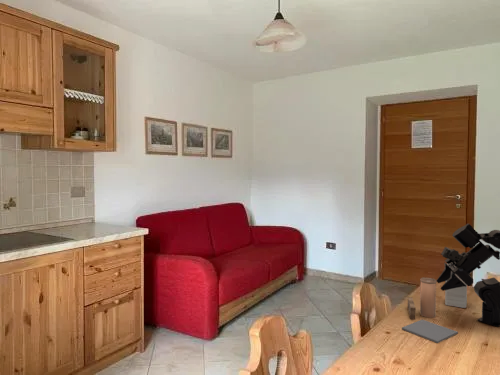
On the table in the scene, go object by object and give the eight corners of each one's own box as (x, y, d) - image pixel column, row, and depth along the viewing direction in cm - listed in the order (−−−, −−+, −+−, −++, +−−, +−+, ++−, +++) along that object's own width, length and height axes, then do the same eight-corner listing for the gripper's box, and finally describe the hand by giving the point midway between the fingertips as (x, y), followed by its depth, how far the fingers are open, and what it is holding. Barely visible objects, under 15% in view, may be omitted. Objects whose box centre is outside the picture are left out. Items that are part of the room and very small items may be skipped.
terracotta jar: (424, 311, 136) (425, 276, 136) (438, 315, 132) (439, 280, 132) (416, 314, 134) (417, 279, 133) (430, 318, 129) (431, 282, 129)
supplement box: (467, 303, 145) (467, 271, 145) (466, 308, 139) (467, 275, 139) (446, 299, 149) (446, 268, 149) (444, 305, 143) (445, 273, 142)
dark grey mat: (422, 321, 127) (422, 319, 127) (457, 333, 117) (457, 331, 117) (401, 329, 121) (401, 327, 121) (437, 343, 111) (437, 341, 111)
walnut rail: (407, 307, 141) (407, 296, 140) (412, 307, 140) (412, 297, 140) (410, 318, 129) (410, 307, 129) (415, 319, 129) (415, 308, 129)
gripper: (451, 236, 138) (419, 262, 142) (463, 245, 120) (425, 275, 124) (475, 258, 135) (441, 284, 139) (490, 271, 118) (451, 300, 122)
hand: (439, 285), depth 131 cm, fingers open, 9 cm apart
